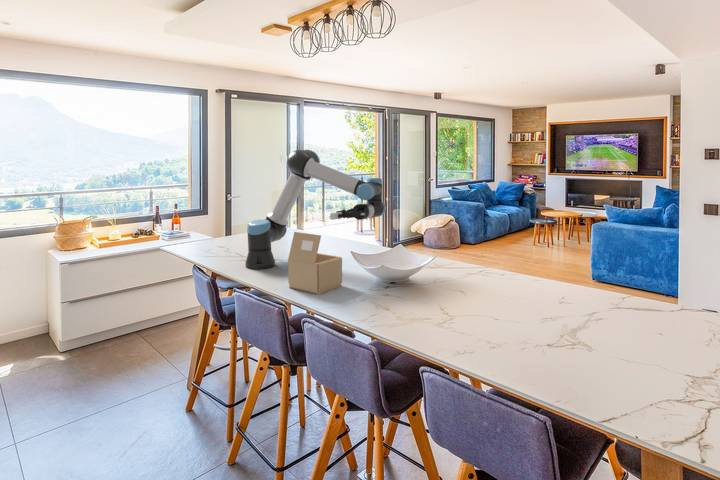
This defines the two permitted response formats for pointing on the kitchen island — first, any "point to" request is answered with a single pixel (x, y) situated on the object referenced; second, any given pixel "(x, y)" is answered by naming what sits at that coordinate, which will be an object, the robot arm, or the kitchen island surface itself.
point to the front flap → (304, 247)
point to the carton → (316, 274)
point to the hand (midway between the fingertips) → (331, 216)
